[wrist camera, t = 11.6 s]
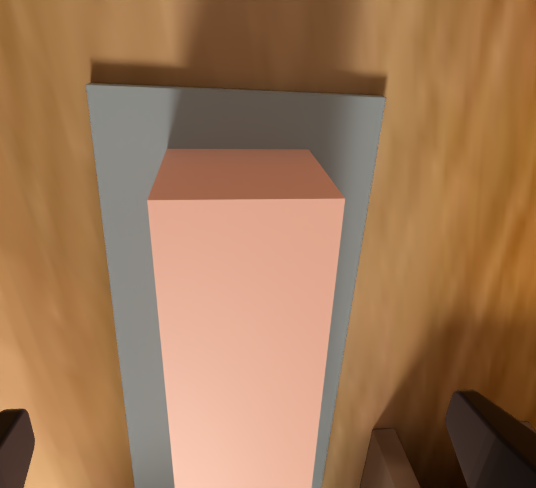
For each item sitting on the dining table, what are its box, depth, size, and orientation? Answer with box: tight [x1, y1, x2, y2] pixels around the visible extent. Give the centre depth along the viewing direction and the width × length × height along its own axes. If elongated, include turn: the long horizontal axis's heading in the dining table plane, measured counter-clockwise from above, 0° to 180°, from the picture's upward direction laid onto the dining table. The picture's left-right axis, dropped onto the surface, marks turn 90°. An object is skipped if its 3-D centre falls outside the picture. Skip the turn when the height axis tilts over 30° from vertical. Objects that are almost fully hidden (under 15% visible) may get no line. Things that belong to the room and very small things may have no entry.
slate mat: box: [86, 83, 386, 488], centre depth 20 cm, size 10×21×1 cm, turn 176°
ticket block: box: [147, 149, 345, 488], centre depth 17 cm, size 5×17×5 cm, turn 178°
